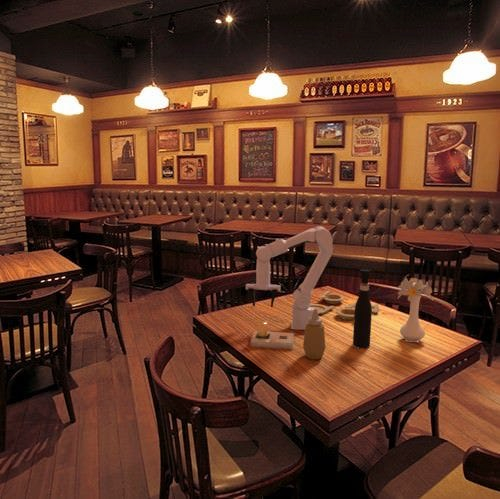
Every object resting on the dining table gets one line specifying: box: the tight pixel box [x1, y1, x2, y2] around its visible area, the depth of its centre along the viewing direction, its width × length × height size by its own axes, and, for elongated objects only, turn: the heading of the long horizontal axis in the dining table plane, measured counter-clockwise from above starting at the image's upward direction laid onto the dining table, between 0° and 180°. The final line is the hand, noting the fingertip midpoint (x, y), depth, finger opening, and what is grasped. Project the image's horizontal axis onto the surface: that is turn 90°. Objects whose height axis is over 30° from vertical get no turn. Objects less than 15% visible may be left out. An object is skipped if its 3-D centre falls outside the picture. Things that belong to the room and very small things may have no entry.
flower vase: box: [397, 277, 434, 342], centre depth 171 cm, size 13×18×25 cm
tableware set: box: [309, 290, 380, 321], centre depth 209 cm, size 35×29×4 cm
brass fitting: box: [257, 320, 269, 339], centre depth 170 cm, size 4×4×8 cm
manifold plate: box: [250, 330, 295, 350], centre depth 170 cm, size 16×10×2 cm, turn 81°
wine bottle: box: [352, 268, 373, 349], centre depth 165 cm, size 6×6×30 cm
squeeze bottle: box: [302, 309, 327, 360], centre depth 156 cm, size 8×8×18 cm
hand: (262, 306), depth 184 cm, fingers open, 7 cm apart
